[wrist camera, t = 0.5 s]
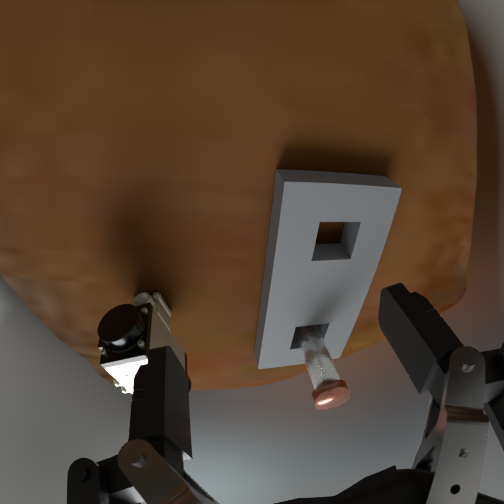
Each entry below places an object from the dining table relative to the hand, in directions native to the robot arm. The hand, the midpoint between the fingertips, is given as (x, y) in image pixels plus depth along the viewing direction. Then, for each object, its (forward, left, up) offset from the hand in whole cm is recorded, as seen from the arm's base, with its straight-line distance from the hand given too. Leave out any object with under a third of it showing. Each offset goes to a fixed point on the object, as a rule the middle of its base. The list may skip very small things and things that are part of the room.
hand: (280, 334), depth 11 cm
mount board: (+13, +10, -19) cm, 25 cm away
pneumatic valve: (+16, -9, -19) cm, 27 cm away
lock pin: (+20, +10, -19) cm, 30 cm away
